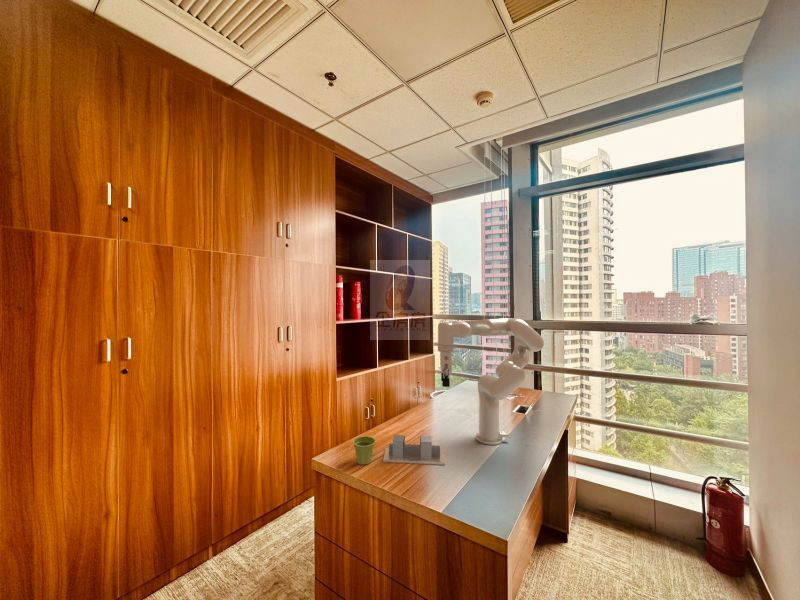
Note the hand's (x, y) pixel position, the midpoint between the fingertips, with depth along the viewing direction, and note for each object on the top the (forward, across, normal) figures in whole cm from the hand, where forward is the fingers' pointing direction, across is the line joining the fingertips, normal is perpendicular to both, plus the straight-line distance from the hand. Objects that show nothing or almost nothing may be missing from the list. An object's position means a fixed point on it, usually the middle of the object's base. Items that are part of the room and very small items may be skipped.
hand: (445, 383), depth 151 cm
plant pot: (+28, -21, +35) cm, 50 cm away
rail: (+28, -15, +14) cm, 35 cm away
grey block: (+27, -15, +9) cm, 32 cm away
